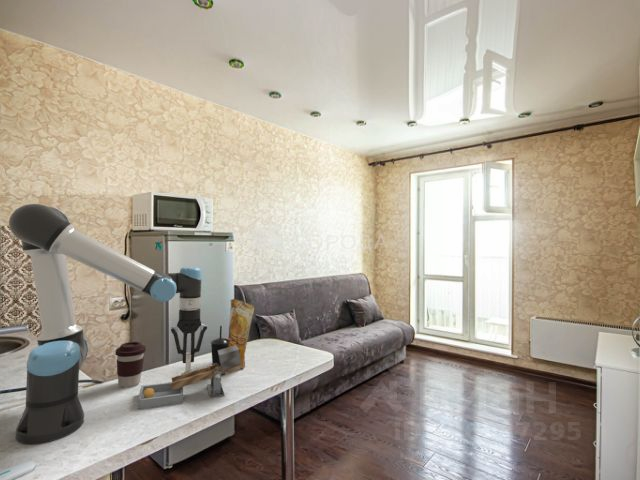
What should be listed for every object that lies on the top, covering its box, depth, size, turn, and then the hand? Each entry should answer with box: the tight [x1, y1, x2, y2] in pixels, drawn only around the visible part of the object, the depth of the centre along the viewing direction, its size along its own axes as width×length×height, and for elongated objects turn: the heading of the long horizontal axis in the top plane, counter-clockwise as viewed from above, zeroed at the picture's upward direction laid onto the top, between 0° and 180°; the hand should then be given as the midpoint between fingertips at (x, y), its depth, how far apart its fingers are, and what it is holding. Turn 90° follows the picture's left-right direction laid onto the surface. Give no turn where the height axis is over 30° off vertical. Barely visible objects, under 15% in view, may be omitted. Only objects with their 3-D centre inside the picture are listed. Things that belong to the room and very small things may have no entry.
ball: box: [143, 388, 154, 398], centre depth 113 cm, size 3×3×3 cm
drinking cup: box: [210, 325, 230, 377], centre depth 137 cm, size 8×8×20 cm
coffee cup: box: [115, 341, 147, 388], centre depth 125 cm, size 10×10×15 cm
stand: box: [206, 362, 225, 399], centre depth 122 cm, size 5×10×9 cm, turn 24°
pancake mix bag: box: [227, 298, 256, 370], centre depth 150 cm, size 7×19×28 cm, turn 40°
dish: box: [136, 381, 184, 410], centre depth 115 cm, size 14×12×3 cm
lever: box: [171, 345, 242, 390], centre depth 123 cm, size 24×11×7 cm, turn 113°
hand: (187, 371), depth 124 cm, fingers closed
